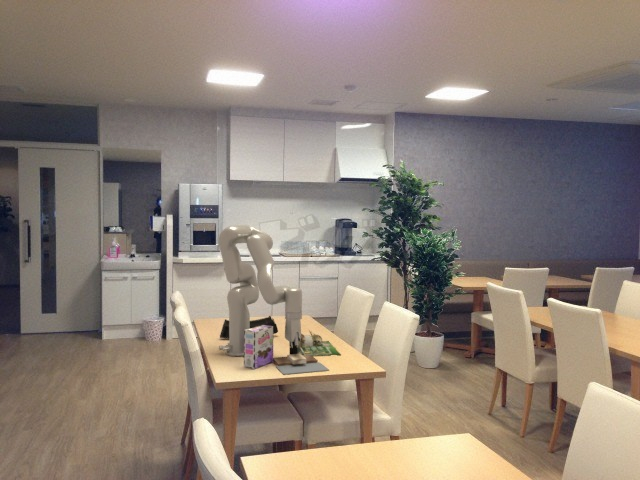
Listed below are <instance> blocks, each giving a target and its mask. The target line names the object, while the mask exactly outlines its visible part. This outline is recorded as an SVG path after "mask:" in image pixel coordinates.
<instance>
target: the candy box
mask: <svg viewBox="0 0 640 480" xmlns="http://www.w3.org/2000/svg"><path fill="white" fill-rule="evenodd" d="M273 358H274V334H273V326H268V325H261V326H258V327H254V328H250V329H246V330H244V356H243V367H244V368H248V369H251V370H256V369H259V368H261V367H265V366H267V365H269V364H273V363H274V362H273Z"/></svg>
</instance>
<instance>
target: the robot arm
mask: <svg viewBox="0 0 640 480" xmlns="http://www.w3.org/2000/svg"><path fill="white" fill-rule="evenodd" d="M217 241H218V247H219V250H220V254H221V258H222V265H223V269H224V273H225V278H226V281H227V282H228V283H230V284H233V285H234V284H239V286H234V287H231V289H230V290H229V291H228V292H227V296H226V301H227V305H228V316H229V317H228V320H229V338H228V342H227V344H225V345H219V346H218V350H219V351H225V354H226V355H227V356H231V357H244V330H246V329H250V321H251V320H250V317H251V316H250V311H249V308H248V307H249V306H248V305H252V304H255V303H256V302H257V301H258V300H259V298H260V295H261V297H262V298H263V300H264V301H265V302H266V303H267V304H268V305H272V306H273V305H274V306H275V305H277V304H282V303H284V320H285V323H284V326H285V327H284V338H285V339H286V340H287V341H288V342H289V343H288V344H289V354H297V347H298V341H299V342H300V341H301V334H302V324H301V320H302V319H303V291H302V289H301V288H300V287H293V286H292V287H290V286H287V285H278V286H274V283H273V280H272V277H271V276H272V275H271V273H272V270H273V268H274V266H275V264H276V263H275V260H274V258H273V256H272V254H271V252H270V251H271V249H272V248H273V246H274V240H273V238H272V237H271V236H270V235H269V234H268V233H267V232H264V231H262V230H260V229H257V228H255V227H253V226H250V225H246V224H245V225H236V224H235V225H230V226H229V225H228V226H226V227H225V228H223V230H221V232H220V233H219V235H218V238H217ZM237 244H246V246H247V249H248V252H249V254H250V257H251V258H252V260H253V263H254V265H255V267H256V269H257V274H256V271H255V269H254V267H253V265H252V264H250V263H249V262H245V261H242V257H241V253H240V251H239V249H238V248H237Z"/></svg>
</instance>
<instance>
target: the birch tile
mask: <svg viewBox="0 0 640 480" xmlns="http://www.w3.org/2000/svg"><path fill="white" fill-rule="evenodd" d="M286 357H287V359H288V360H289V361H290V362H291V363H292V364H304V363H306V358H305V357H304V356H302V355H301V354H290V353H289V354H287V356H286Z"/></svg>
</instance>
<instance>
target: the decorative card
mask: <svg viewBox="0 0 640 480" xmlns="http://www.w3.org/2000/svg"><path fill="white" fill-rule="evenodd" d="M297 354H301V355H311V356H313V357H331V355H337V356H341V355H342V354H341V353H340V352H339V351H338V350H337V349H336V348H335V346H334V345H333V343H331V341H329V340H323V338H322V336H321V335H319V334H315V333H313V332H312V331H310V330H309V334H303V333H301V341H300V342H299V341H298V347H297Z"/></svg>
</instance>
